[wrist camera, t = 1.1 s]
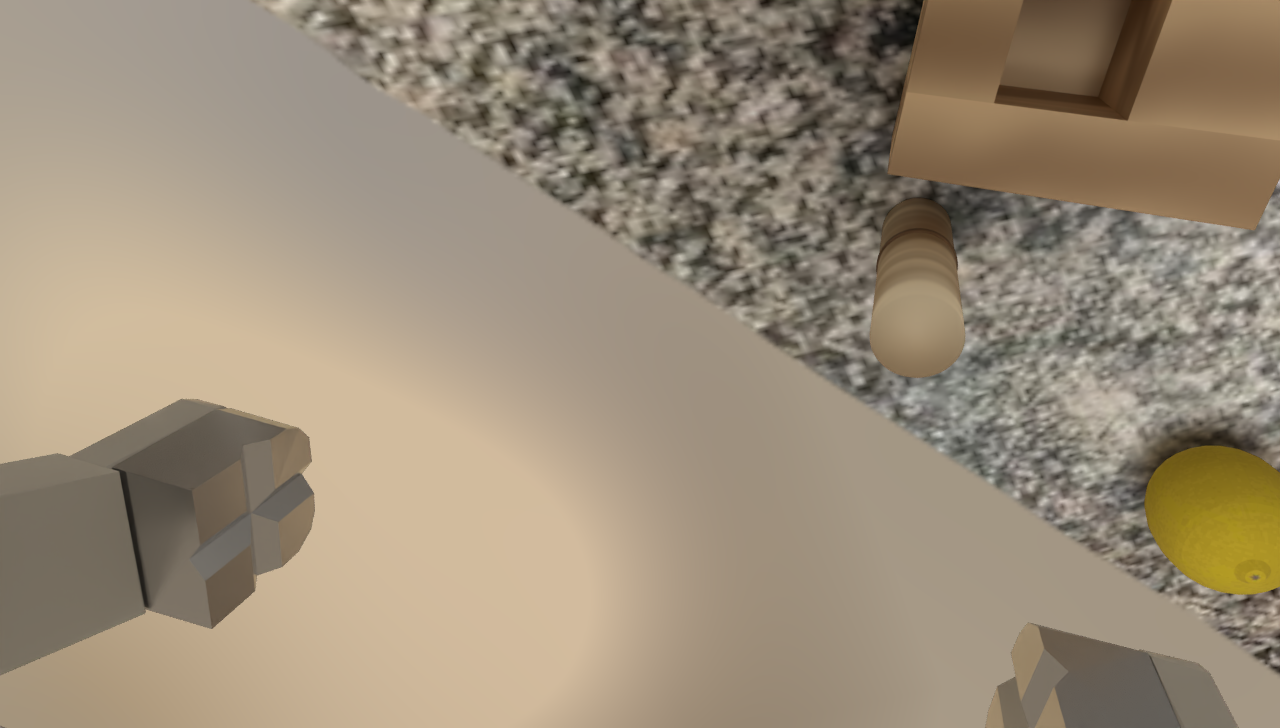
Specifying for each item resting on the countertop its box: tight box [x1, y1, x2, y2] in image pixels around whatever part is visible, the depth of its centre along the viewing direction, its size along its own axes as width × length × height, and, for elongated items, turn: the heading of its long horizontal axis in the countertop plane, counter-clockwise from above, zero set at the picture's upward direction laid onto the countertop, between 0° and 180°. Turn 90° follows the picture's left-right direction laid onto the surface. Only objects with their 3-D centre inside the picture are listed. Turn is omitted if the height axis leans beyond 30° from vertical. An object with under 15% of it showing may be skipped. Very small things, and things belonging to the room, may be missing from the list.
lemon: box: [1144, 446, 1280, 595], centre depth 34 cm, size 6×6×8 cm
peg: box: [870, 198, 965, 378], centre depth 31 cm, size 3×3×12 cm
